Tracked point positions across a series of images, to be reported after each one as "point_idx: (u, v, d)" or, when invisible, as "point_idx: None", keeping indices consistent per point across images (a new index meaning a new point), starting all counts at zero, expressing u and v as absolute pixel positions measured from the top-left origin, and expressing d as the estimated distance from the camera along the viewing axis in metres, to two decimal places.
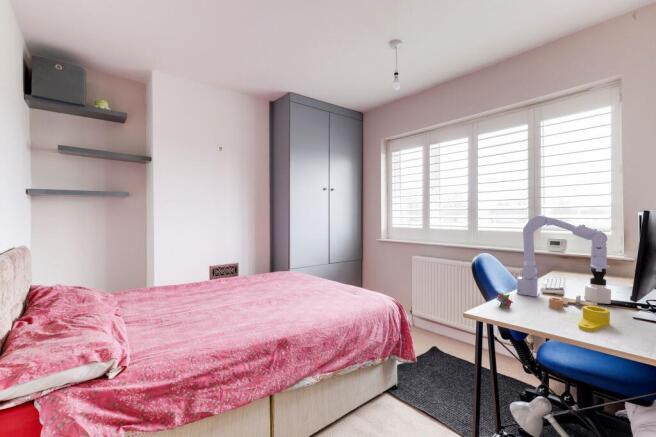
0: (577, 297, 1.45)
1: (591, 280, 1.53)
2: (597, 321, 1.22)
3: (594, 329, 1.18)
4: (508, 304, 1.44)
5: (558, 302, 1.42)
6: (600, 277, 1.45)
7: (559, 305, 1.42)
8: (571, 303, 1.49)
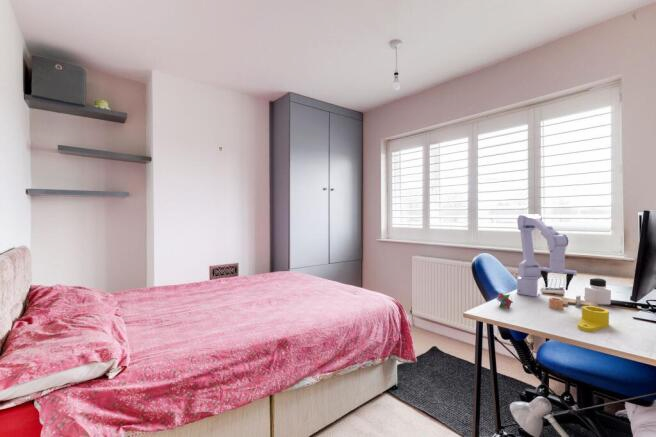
0: (577, 297, 1.45)
1: (591, 281, 1.52)
2: (596, 321, 1.22)
3: (593, 329, 1.17)
4: (508, 304, 1.44)
5: (558, 302, 1.42)
6: None
7: (559, 305, 1.42)
8: (571, 303, 1.49)
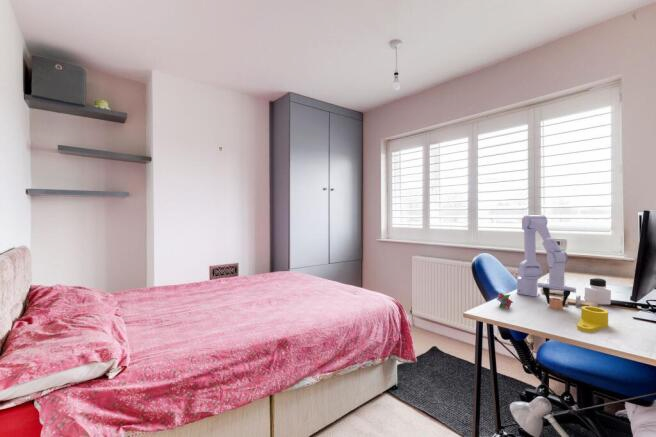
0: (577, 297, 1.45)
1: (591, 281, 1.52)
2: (596, 322, 1.22)
3: (593, 330, 1.17)
4: (508, 304, 1.44)
5: (558, 302, 1.42)
6: None
7: (559, 305, 1.42)
8: (571, 303, 1.49)
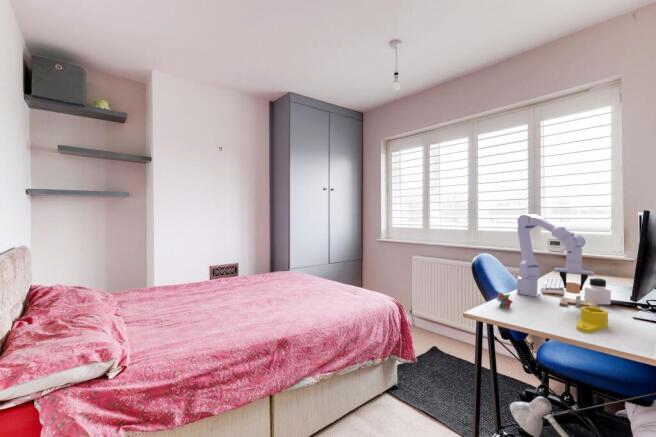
0: (577, 297, 1.45)
1: (591, 281, 1.52)
2: (595, 322, 1.21)
3: (592, 330, 1.17)
4: (508, 304, 1.44)
5: (575, 286, 1.42)
6: None
7: (577, 289, 1.42)
8: (571, 303, 1.49)
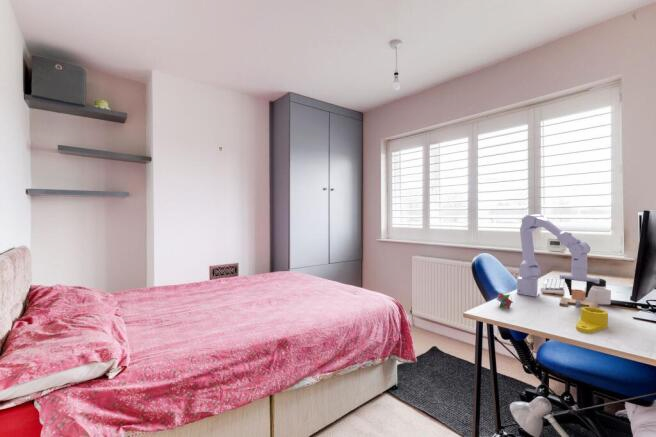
0: None
1: None
2: (595, 323, 1.21)
3: (592, 331, 1.16)
4: (508, 304, 1.44)
5: (581, 293, 1.42)
6: None
7: (582, 296, 1.42)
8: (571, 303, 1.49)
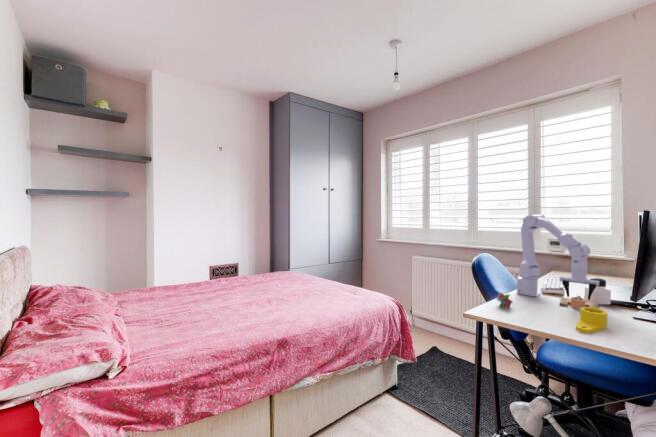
0: (577, 297, 1.45)
1: None
2: (595, 323, 1.21)
3: (591, 331, 1.16)
4: (508, 304, 1.44)
5: (580, 302, 1.42)
6: None
7: (581, 305, 1.42)
8: None
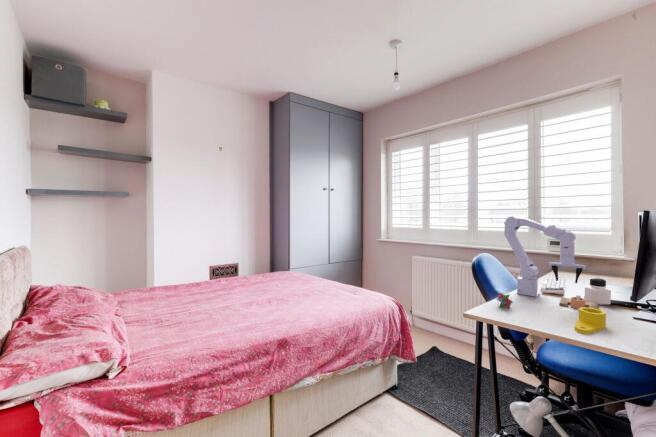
0: (577, 297, 1.45)
1: (591, 281, 1.52)
2: (593, 323, 1.20)
3: (591, 331, 1.16)
4: (508, 304, 1.44)
5: (580, 302, 1.42)
6: None
7: (581, 305, 1.42)
8: None
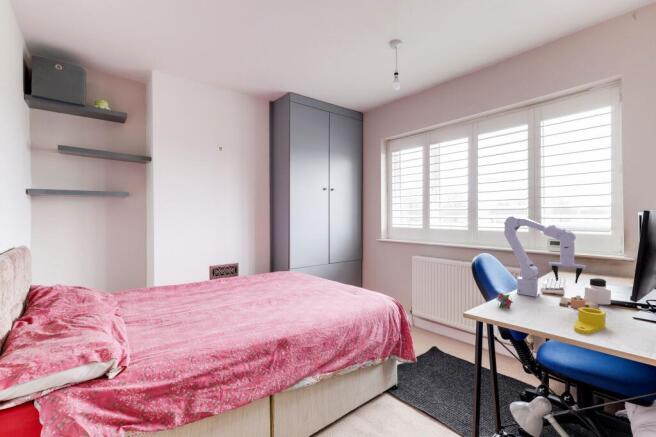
0: (577, 297, 1.45)
1: (591, 281, 1.52)
2: (593, 323, 1.20)
3: (590, 332, 1.15)
4: (508, 304, 1.44)
5: (580, 302, 1.42)
6: None
7: (581, 305, 1.42)
8: None
